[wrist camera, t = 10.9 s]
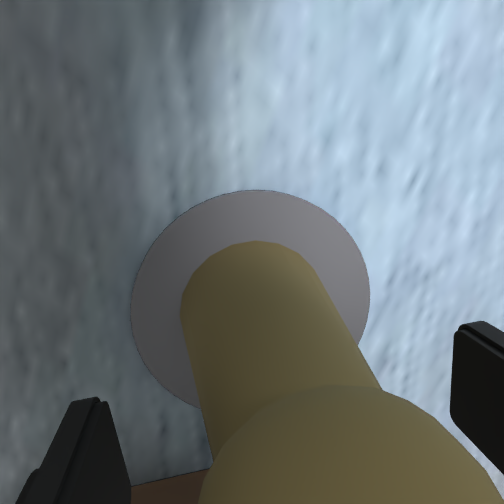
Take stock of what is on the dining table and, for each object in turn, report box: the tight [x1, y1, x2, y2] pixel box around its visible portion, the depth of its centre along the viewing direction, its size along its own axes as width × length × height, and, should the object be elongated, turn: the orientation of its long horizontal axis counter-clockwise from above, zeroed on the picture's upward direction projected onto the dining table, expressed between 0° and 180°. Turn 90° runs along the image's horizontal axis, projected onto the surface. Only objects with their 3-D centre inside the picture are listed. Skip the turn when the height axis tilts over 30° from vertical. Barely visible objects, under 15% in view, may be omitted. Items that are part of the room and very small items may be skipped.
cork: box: [180, 240, 504, 504], centre depth 10 cm, size 6×6×11 cm
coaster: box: [131, 190, 370, 409], centre depth 15 cm, size 10×10×1 cm
